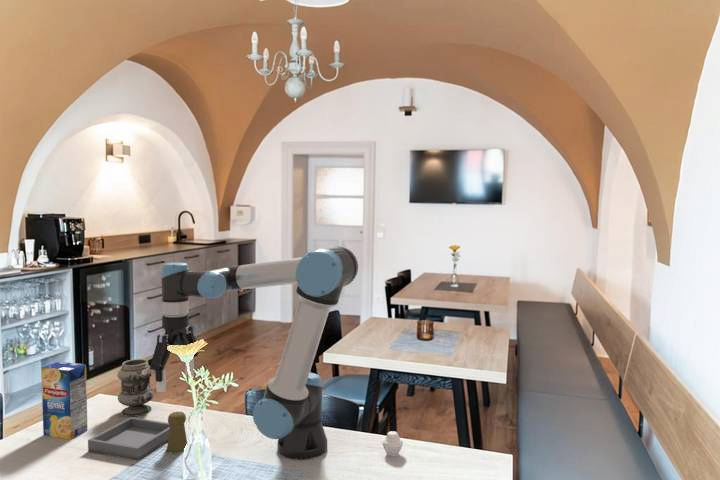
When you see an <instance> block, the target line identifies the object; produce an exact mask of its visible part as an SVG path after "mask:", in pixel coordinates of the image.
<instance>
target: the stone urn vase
mask: <svg viewBox="0 0 720 480" xmlns="http://www.w3.org/2000/svg"><path fill="white" fill-rule="evenodd" d="M153 374H154V370H150V364H149V360H148V359H145V358H135V359H130V360H126V361H123V362H122V364H121V368H119V370H118V371H117V374H116V375H117V378H118V379H119V380H120V383H121V386H120V387H121V391H120V393H119V394H118V396H117V401H118V402H119V403H120V404H121V405H123V406H125V408H124V409H122V411H121V415H122V414H123V415H122V416H124V415H126V416H125V417H139V415H140V416H143V415H147V414H148V413H150V412H151V411H152V407H151V406H150V405H149V404H148V403H149V402H150V401H151V400H152V399H153V398H154V397H155V390H154V389H153V388H152V387H151V376H152V375H153Z"/></svg>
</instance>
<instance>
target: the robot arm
mask: <svg viewBox="0 0 720 480" xmlns="http://www.w3.org/2000/svg"><path fill="white" fill-rule="evenodd" d="M358 272H359V262H358V259H357V257H356V256H355V254H354V253H353V252H352V250H350V249H349V248H346V247H343V246H339V245H338V246H330V247H326V248H324V247H323V248H317V249H314V250H310V252H307V253H306V254H304V256H302V257H301V256H300V257H295V258H288V259H278V260H273V261H264V262H257V263H249V264H241V265H229V266H226V267H221V268H216V269H210V270H204V271H202V270H201V271H200V270H196V271H195V270H190V269H189V265H188V263H185V262H167V263H164V264H163V265H162V267H161V277H160V279H161V314H162V317H161V327H162V329H164V334H158V335H157V337H156V345H155V349H154V352H153V355H152V358H151V362H150V364H149V366H150V370H153V371H155V372H154V373H155V382H156V385H155V386H156V390H155V391H156V393H157V392H158V393H166V392H167V372H166V371H167V370H166V369H165V367H166V364H167V363H168V361H169V358H170V355H171V353H172V351H171V352H170V351H168V350H167V346H169V345H178V346H181V345H187V344H190V343H193V342H197V340H196V337H195V334H194V328H193V325H190V324H189V323H190V322H189V320H190V317H189V312H190V311H189V310H190V309H189V307H190V304H189V303H190V300H189V297H192V298H193V297H194V298H201V299H202V298H204V299H219V298H221V297H222V295H224V294H225V293H226V292H227V293H228V292H232V291H241V290H247V289H248V290H249V289H258V288H268V287H277V286H278V287H279V286H286V285H296V284H297V287H296V290H295V293H296V295H297V296H298V298H299V300H298V303H297V306H296V311H295V314H294V316H293V318H292V323H291V326H290V329H289V332H288V335H287V339H286V342H285V345H284V349H283V351H282V355H281V358H280V361H279V364H278V368H277V372H276V375H275V376H274V377H272V378H270V379H269V380H268V381H267V384H266V385H267V386H266V388H265V391H264V394H263V397H262V398H261V399H259V400H258V401H257V402H256V403H255V405H254V407H253V410H252V420H253V423H254V424H255V426H256V429H257V430H258V431H259V433H261V434H262V435H263V436H265V437H266V438H269V439H271V440H277V443H276V444H277V447H276V449H277V452H278V454H279V455H280V456H282V457H284V458H287V459H291V460H309V459H314V458H318V457H320V456H322V455H323V454H325V453H326V451H327V450H328V438H327V435H326V433H325V428H324V425H323V422H322V420H323V419H322V418H323V417H322V414H323V413H322V412H323V409H322V408H323V401H322V400H323V384H322V378H321V376H320V375H319V374H318V373H314V372H311V369H312V366H313V364H314V360H315V357H316V354H317V350H318V347H319V344H320V341H321V339H322V334H323V332H324V328H325V325H326V322H327V319H328V316H329V313H330V310H331V308H333V307H335V306H337V305H338V303H339V301H340V297H341V295H342V291H343V288H344V287H346V286H349V285H350V284H351V283H353V281H354V280H355V278H356V277H357V275H358ZM199 352H200V350H199V351H198V352H197V353H196V354H195V355H194V357H193V359H192V360H191V361H190V362H189V366H190V368H191V375H192V376H193V378H192V379H194V378H195V357H198V354H199ZM184 366H185V371H184V372H185V373H184V374H185V375H186V376H187V366H186V363H185V365H184ZM193 369H194V370H193ZM185 375H184V376H185Z"/></svg>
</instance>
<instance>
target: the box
mask: <svg viewBox="0 0 720 480" xmlns="http://www.w3.org/2000/svg"><path fill="white" fill-rule="evenodd" d="M169 429H170V424H169V423H168V422H165V421H160V420H159V421H158V420H152V419H145V418H138V417H134V416H129V417H128V418H126V419H125V420H122V421H121V422H119V423H117V424H115V425H114V426H112V427H110V428H107V429H106V430H104V431H102V432H100V433H99V434H97V435H94V436H93V437H91V438H88V439H87V451H88V452H90V453H95V454H100V455H101V454H102V455H106V456H113V457H118V458H123V459H129V460H133V461H139V460H141V459H142V458H144V457H146V456H147V455H149V454H150V453H151V452H153V451H155V450H157V449H158V448H159V447H161V446H163V445H164V444H165V443H168V437H169Z"/></svg>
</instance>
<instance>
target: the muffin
mask: <svg viewBox="0 0 720 480" xmlns="http://www.w3.org/2000/svg"><path fill="white" fill-rule="evenodd" d="M381 443H382V446H383V449H384V451H385V453H386V455H387V456H388V457H392V458H393V457H398V455H399V453H400V451H401V449H403V448H402V447H403V445H404V442H403V440H402V439H401V437H400V435H399V433H398V432H397V431H389V432H387V434H386V436H385V437H384V438H383V440H382V442H381Z"/></svg>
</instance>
